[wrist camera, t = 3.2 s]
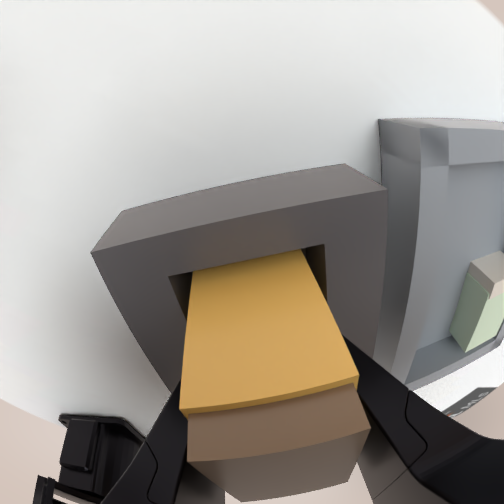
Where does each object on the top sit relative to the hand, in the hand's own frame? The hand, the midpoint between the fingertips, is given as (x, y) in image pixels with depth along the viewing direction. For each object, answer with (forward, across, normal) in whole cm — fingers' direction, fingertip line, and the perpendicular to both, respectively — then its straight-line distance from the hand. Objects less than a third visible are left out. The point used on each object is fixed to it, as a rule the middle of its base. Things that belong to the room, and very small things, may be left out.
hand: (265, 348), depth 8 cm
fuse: (+3, -12, +4) cm, 14 cm away
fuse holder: (+4, 0, 0) cm, 4 cm away
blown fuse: (+3, 0, 0) cm, 3 cm away
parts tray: (+4, -10, +2) cm, 11 cm away
